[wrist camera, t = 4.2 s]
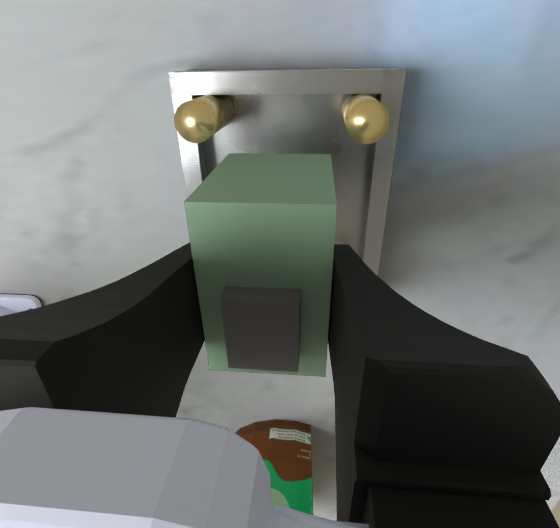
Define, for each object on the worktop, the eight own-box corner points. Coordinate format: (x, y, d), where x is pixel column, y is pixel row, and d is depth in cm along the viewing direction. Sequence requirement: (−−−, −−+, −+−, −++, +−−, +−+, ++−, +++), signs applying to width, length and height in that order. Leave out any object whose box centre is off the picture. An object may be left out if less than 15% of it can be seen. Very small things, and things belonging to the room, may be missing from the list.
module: (323, 286, 15) (325, 392, 11) (239, 283, 16) (204, 384, 11) (330, 153, 13) (338, 214, 8) (228, 153, 13) (175, 211, 8)
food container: (238, 385, 26) (198, 553, 17) (319, 413, 26) (319, 588, 18) (195, 475, 32) (149, 632, 23) (261, 495, 32) (240, 656, 24)
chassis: (368, 287, 21) (379, 341, 17) (212, 282, 21) (189, 331, 18) (395, 67, 15) (422, 71, 11) (186, 70, 16) (143, 74, 12)
